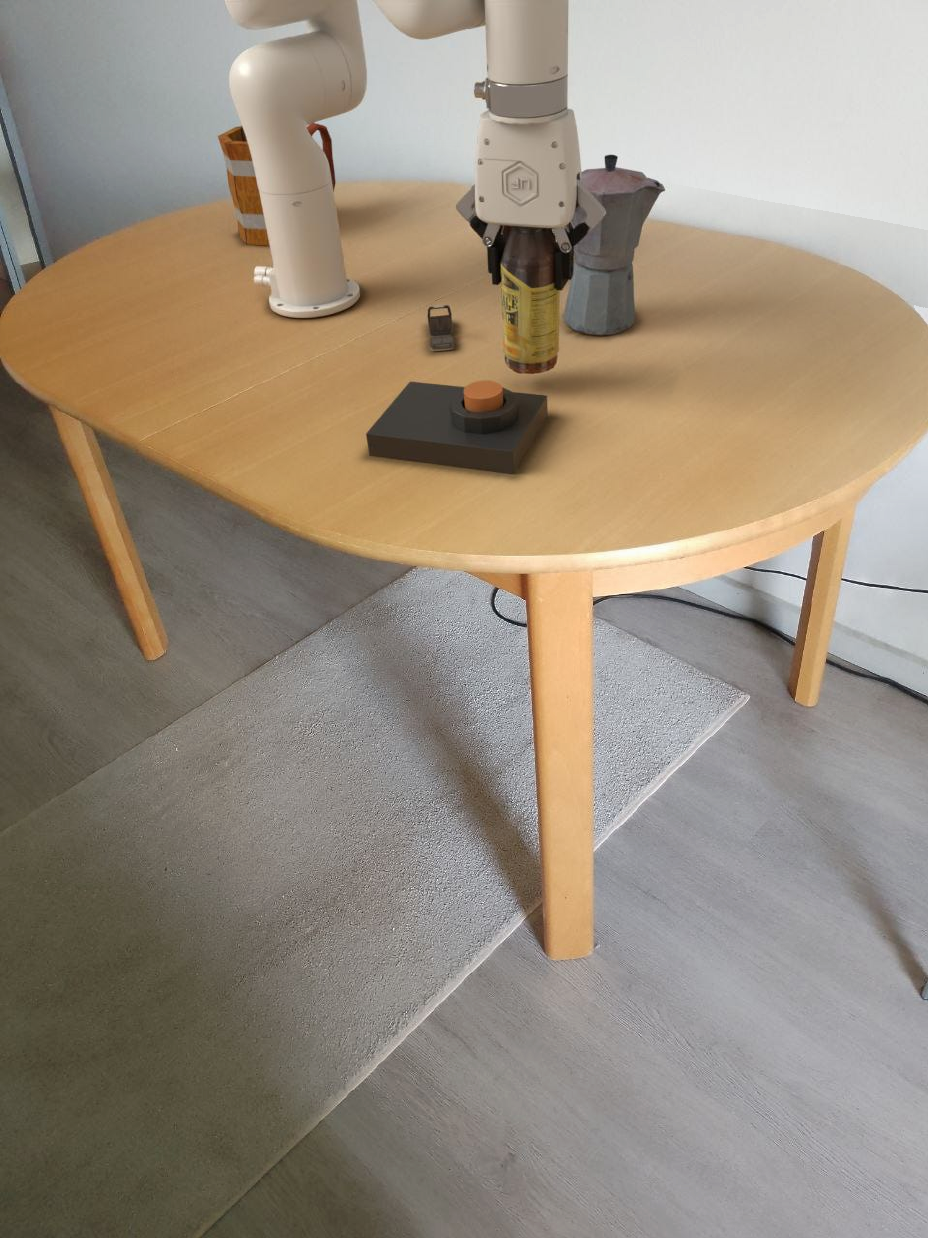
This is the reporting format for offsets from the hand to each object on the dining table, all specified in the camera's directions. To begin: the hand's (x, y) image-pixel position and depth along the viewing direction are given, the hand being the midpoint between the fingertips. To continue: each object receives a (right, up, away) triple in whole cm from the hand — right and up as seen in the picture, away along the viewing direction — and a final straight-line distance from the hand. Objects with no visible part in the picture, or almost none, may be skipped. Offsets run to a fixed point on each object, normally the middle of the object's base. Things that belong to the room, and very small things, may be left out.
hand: (530, 281), depth 106 cm
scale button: (-5, -14, -3) cm, 15 cm away
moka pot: (+10, +2, +21) cm, 23 cm away
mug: (-35, +29, +58) cm, 74 cm away
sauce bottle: (+1, -7, +6) cm, 10 cm away
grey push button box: (-8, -16, +1) cm, 18 cm away
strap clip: (-10, 0, +20) cm, 23 cm away
